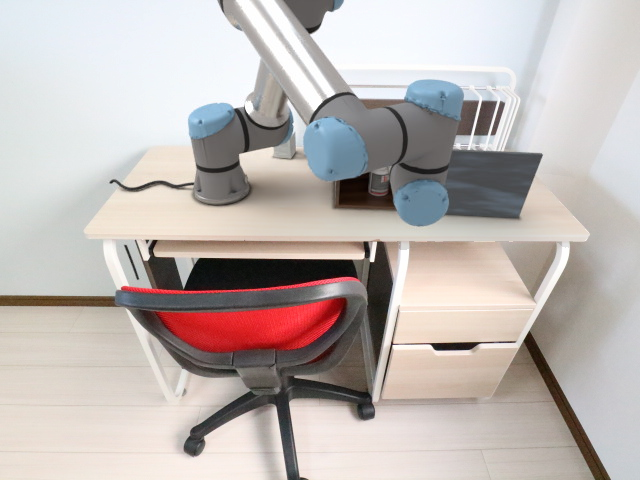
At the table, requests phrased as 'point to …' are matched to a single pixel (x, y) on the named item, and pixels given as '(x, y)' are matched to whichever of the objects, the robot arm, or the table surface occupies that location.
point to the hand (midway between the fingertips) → (394, 119)
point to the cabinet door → (489, 182)
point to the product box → (286, 148)
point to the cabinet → (361, 195)
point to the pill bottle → (378, 182)
